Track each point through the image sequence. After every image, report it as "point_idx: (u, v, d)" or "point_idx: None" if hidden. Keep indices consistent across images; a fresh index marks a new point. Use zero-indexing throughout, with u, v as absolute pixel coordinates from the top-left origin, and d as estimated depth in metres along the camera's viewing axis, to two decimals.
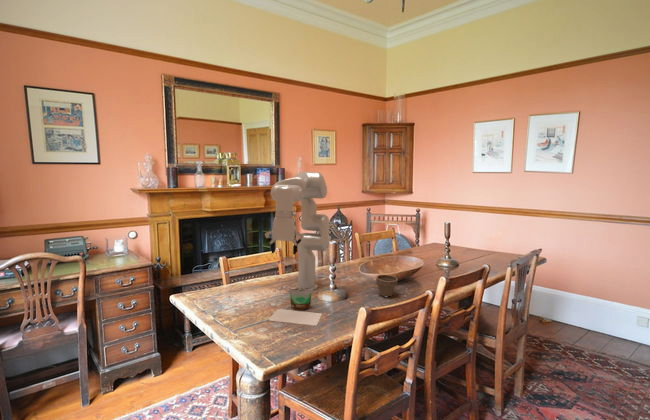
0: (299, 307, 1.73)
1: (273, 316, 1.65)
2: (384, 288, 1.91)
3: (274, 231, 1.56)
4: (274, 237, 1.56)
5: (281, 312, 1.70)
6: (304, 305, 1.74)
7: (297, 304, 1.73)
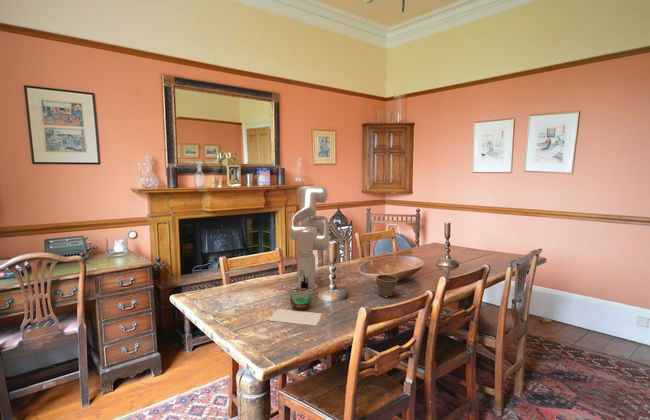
0: (299, 307, 1.73)
1: (273, 316, 1.65)
2: (384, 288, 1.91)
3: (307, 270, 1.73)
4: (306, 276, 1.74)
5: (281, 312, 1.70)
6: (304, 306, 1.74)
7: (297, 304, 1.73)
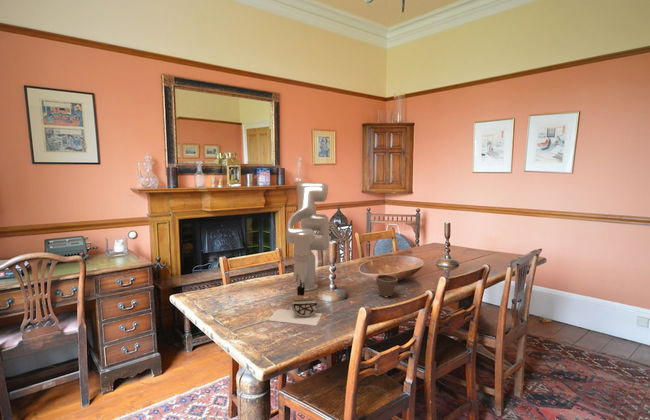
0: None
1: (273, 316, 1.65)
2: (384, 288, 1.91)
3: (303, 274, 1.67)
4: (303, 280, 1.67)
5: (281, 312, 1.70)
6: None
7: None
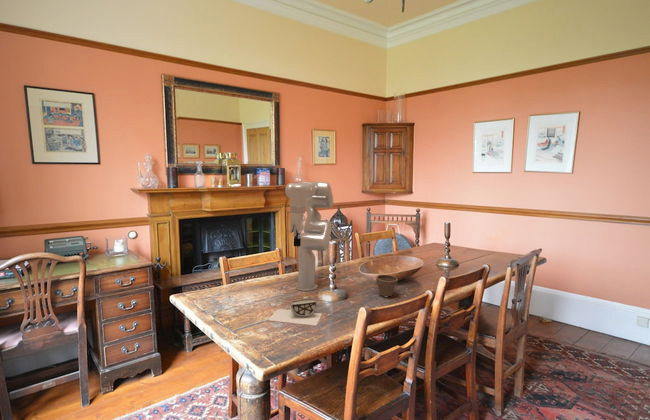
0: None
1: (273, 316, 1.65)
2: (384, 288, 1.91)
3: (299, 225, 1.75)
4: (299, 231, 1.75)
5: (281, 312, 1.70)
6: None
7: None
